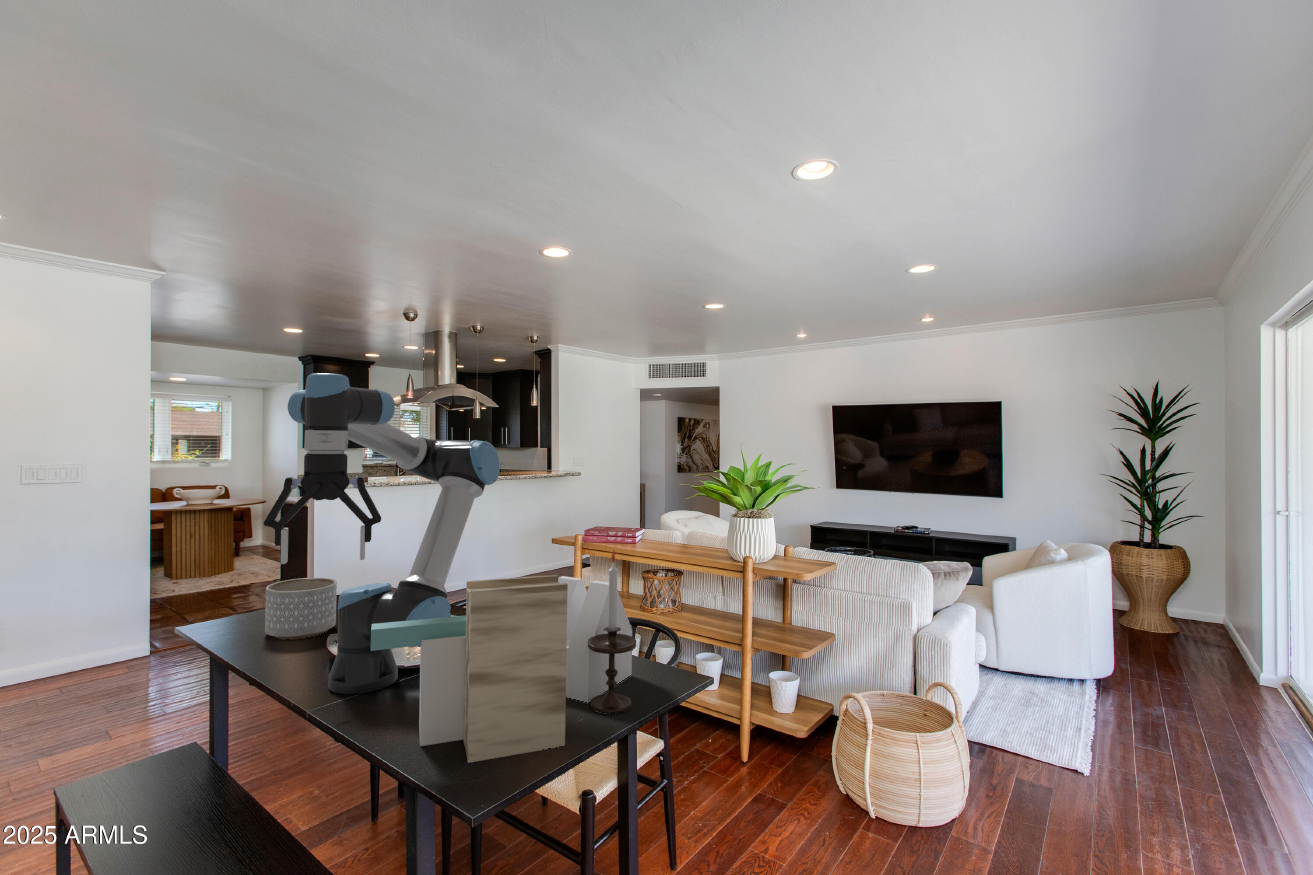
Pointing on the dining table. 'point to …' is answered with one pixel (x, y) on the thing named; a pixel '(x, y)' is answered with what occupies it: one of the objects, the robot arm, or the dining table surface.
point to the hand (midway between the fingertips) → (324, 560)
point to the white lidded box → (442, 690)
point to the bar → (415, 632)
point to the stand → (515, 666)
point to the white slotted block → (582, 624)
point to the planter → (300, 607)
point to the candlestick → (611, 652)
